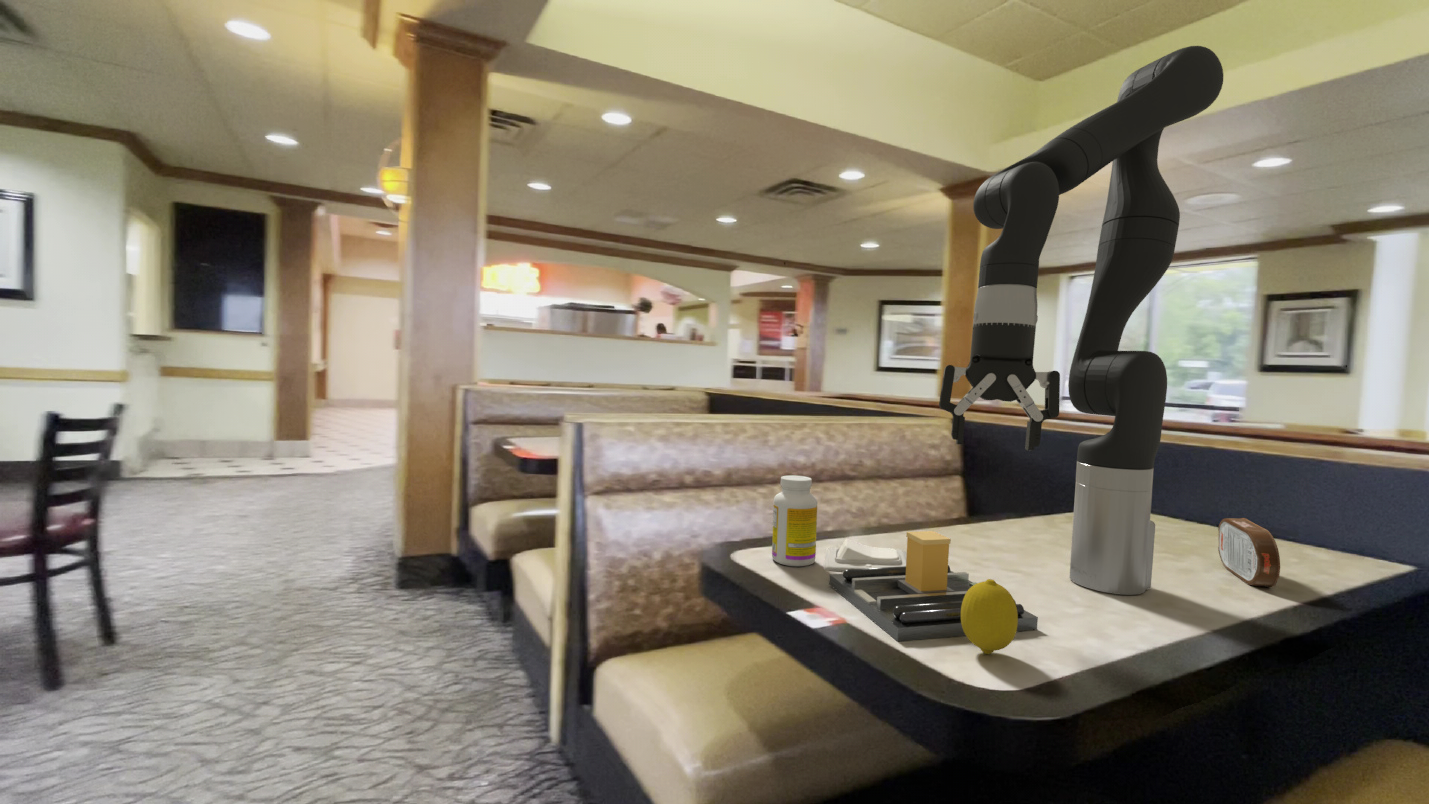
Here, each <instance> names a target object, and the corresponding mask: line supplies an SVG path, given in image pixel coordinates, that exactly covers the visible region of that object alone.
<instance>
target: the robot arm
mask: <svg viewBox="0 0 1429 804" xmlns="http://www.w3.org/2000/svg"><path fill="white" fill-rule="evenodd" d="M1223 84H1224V70H1223V66H1222V63H1221V61H1220V58H1219V57H1218V56H1217V54H1216V53H1215V52H1214V51H1213V50H1211V49H1210V48H1209V47H1206V46H1201V45H1190V46H1186V47H1185V46H1184V47H1182V48H1180V49H1179V48H1178V49H1177V50H1175V51H1172V52H1170V53H1168V54H1165V55H1164V56H1162V57H1160V58H1157V59H1156V60H1154V61H1152V62H1150V63H1148V64H1145V65H1143V67H1140V68H1138V69H1136V70H1134V71H1133V72H1132V73H1131V74H1129V75H1128V76H1127V77H1126V79H1125V80H1124V81H1123V83H1122V85H1121V87H1120V89H1119V92H1118V95H1117V102H1115V103H1112V105H1109V106H1108V107H1105V108H1103V109H1101V110H1099V111H1097V112H1095V113H1093V114H1092V115H1090V116H1088V117H1086V118H1084V119H1083V120H1081V121H1080V122H1079V121H1078V122H1077V123H1075V124H1074V125H1073V126H1070V127H1069V128H1067V129H1066V130H1065V131H1063V132H1062V133H1060V134H1058V135H1056V136H1055V137H1054V138H1052V139H1050V140H1049V141H1048V142H1047V143H1045V144H1044V145H1043V146H1041V147H1040V148H1039V149H1038V150H1036V151H1035V152H1033V153H1032V154H1030V155H1028V156H1025V157H1023V159H1020V160H1018V161H1016V162H1015V163H1013V164H1011V165H1009V166H1007V167H1005V168H1004V169H1002V170H1000V171H998V172H996V173H995V174H992V176H990V177H988V178H987V179H986V180H985V181H984V182H983V183H982V184H981V185H980V186H979V188H978V189H977V190H976V192H975V195H974V198H973V203H972V204H973V207H972V208H973V212H974V216H975V217H976V220H977V221H978V222H979V223H980V224H981V225H983V226H984V227H985V228H989V229H993V230H1001V233H1000V234H999V236H998V237H997V239H995V240H994V241H993V242H991V243H990V244H988V245H987V246H985V248H983V250H982V253H981V256H980V261H979V262H980V264H979V272H978V273H979V274H978V286H977V294H976V299H975V302H974V309H973V322H972V331H971V332H972V333H971V342H970V343H971V345H970V358H969V363H968V365H967V366H966V367H962V366H961V367H960V366H954V365H952V364H948V365H946V366H945V367H944V369H943V374H942V375H943V376H942V382H941V389H940V394H939V395H940V397H939V401H938V407H939V408H940V409H941V410H944V411H946V412H948V413H950V414H951V416H952V422H951V432H950V434H951V439H952V440H955V444H956V445H961V446H962V445H964V433H965V425H966V424H965V421H966V417H965V416H964V413H965V412H966V411H967V410H968V409H969V408H970V407H971V406H972V405H973V404H974V403H975V402H976V401H977V400H978V399H979V398H980V399H982V400H984V401H995V400H996V401H997V400H999V401H1001V402H1008V403H1011V402H1015V401H1016V403H1017V404H1018V405H1019V407H1020V408H1022V410H1023V411H1024V413H1025V414H1026V416H1027V417H1028V418H1029V420H1027V423H1026V432H1025V433H1026V434H1025V442H1024V443H1025V444H1024V446H1025V447H1024V449H1025V451H1033V452H1034V451H1035V447H1039V445H1040V444H1041V438H1042V425H1043V422H1044V421H1046V420H1049V419H1055V418H1058V417H1059V415H1060V401H1061V400H1060V396H1061V394H1060V391H1061V387H1060V386H1061V374H1060V372H1059V371H1057V370H1051V371H1050V370H1049V371H1036V370H1035V368H1034V353H1035V352H1034V351H1035V342H1036V332H1037V323H1038V318H1039V317H1038V294H1037V293H1038V289H1037V288H1038V281H1039V270H1040V268H1039V267H1040V257H1041V255H1042V252H1043V249H1044V247H1045V245H1046V241H1047V239H1048V236H1049V233H1050V230H1051V227H1052V225H1053V221H1054V219H1055V215H1056V214H1057V209H1058V205H1059V202H1060V201H1059V200H1060V195H1064V194H1066V193H1068V192H1070V191H1071V190H1073V189H1075V188H1076V187H1078V186H1080V185H1081V184H1082V183H1084V182H1085V181H1087V180H1088V179H1090V178H1091V177H1092V176H1094V175H1095V174H1097V173H1098V172H1099V171H1101V170H1102V169H1103V168H1105V167H1106V166H1108V165H1109V164H1111V163H1112V164H1111V165H1112V166H1111V171H1110V173H1111V174H1110V178H1109V185H1108V192H1107V193H1108V194H1107V200H1106V205H1105V210H1104V215H1103V221H1102V224H1101V229H1100V233H1099V240H1098V246H1097V253H1096V261H1095V269H1094V272H1093V273H1094V274H1093V278H1092V283H1091V289H1090V292H1089V293H1090V294H1089V299H1088V304H1087V307H1086V312H1085V316H1084V320H1083V323H1082V326H1081V329H1080V333H1079V337H1078V339H1077V343H1076V348H1075V350H1074V354H1073V358H1072V361H1071V365H1070V369H1069V373H1068V374H1069V375H1068V383H1067V384H1068V388H1067V389H1068V397H1069V401H1070V403H1071V404H1072V407H1074V408H1075V410H1077V412H1080V413H1083V414H1087V415H1088V414H1089V415H1098V416H1106V417H1107V416H1108V417H1114V421H1113V425H1112V428H1111V429H1110V430H1109V431H1108V432H1106V433H1105V434H1104V435H1101V436H1099V437H1095V438H1091V439H1087V440H1083V441H1082V442H1080V443H1079V445H1078V446H1077V453H1076V455H1077V456H1076V469H1075V486H1074V487H1075V489H1074V500H1073V501H1074V504H1073V518H1072V533H1071V535H1072V536H1071V550H1070V562H1069V564H1070V565H1069V580H1071V581H1072V582H1074V583H1075V584H1077V585H1078V586H1082V587H1085V588H1087V589H1091V590H1095V591H1099V592H1103V593H1108V594H1115V595H1125V596H1126V595H1132V596H1134V595H1140V594H1141V595H1142V594H1143V593H1145V592H1146V590H1151V589H1152V577H1153V575H1152V574H1153V562H1154V547H1155V536H1156V523H1155V521H1153V520H1151V511H1152V500H1153V482H1154V481H1153V480H1154V468H1155V459H1156V456H1157V452H1158V450H1159V447H1160V443H1161V439H1162V432H1163V431H1162V429H1163V421H1164V413H1165V406H1166V401H1167V392H1168V377H1167V376H1168V375H1167V368H1166V366H1165V362H1164V361H1163V360H1162V358H1161V357H1160V356H1159V355H1158V354H1156V353H1155V352H1152V351H1148V350H1147V351H1146V350H1119V348H1120V343H1121V339H1122V336H1123V333H1124V330H1125V328H1126V325H1127V323H1128V321H1129V319H1130V318H1131V316H1132V315H1133V314H1134V311H1136V309H1137V308H1138V307H1139V305H1140V304H1141V303H1142V302H1143V301H1144V300H1145V298H1147V296H1148V295H1149V293H1151V292H1152V290H1153V289H1154V288H1155V287H1156V286H1157V285H1158V283H1159V282H1160V280H1161V279H1162V278H1163V276H1164V275H1165V273H1166V272H1167V270H1169V267H1170V266H1171V264H1172V261H1173V259H1174V253H1175V249H1176V244H1177V239H1178V233H1179V227H1180V220H1181V219H1180V218H1181V213H1180V208H1179V205H1178V202H1177V200H1176V198H1175V196H1174V194H1173V192H1172V191H1171V189H1170V187H1169V186H1168V184H1167V183H1166V181H1165V180H1164V178H1163V175H1162V174H1161V172H1160V169H1159V164H1158V159H1159V158H1158V156H1159V155H1158V154H1159V147H1160V141H1161V136H1162V134H1163V131H1164V129H1165V128H1167V127H1169V126H1172V125H1175V124H1177V123H1179V122H1183V121H1185V120H1188V119H1190V118H1193V117H1194V116H1197V115H1198V114H1200V113H1203V112H1204V111H1205V110H1207V109H1208V108H1209V107H1211V106H1212V105H1213V104H1214V102H1215V101H1216V100H1217V98H1218V97H1219V95H1220V93H1221V90H1222V89H1223ZM962 376H965V379H966V381H968V382H969V384H970V386H971V387H972V388H970V390H968V392H967V393H965V395H964V396H963V397H962V399H960V400H959V402H957V403H956V404H955V403H953V402H951V399H952V392H953V386H954V383H957V382H959V381H960V378H961V377H962ZM1035 381H1038V383H1039V387H1041V388H1042V389H1044V409H1039V407H1038V406H1037V405H1036V403H1035V401H1034V400H1033V398H1032V396H1031V395H1030V394H1029V393H1028V388H1030V386H1032V384H1033V383H1034V382H1035Z"/></svg>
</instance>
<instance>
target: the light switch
mask: <svg viewBox="0 0 1429 804" xmlns="http://www.w3.org/2000/svg"><path fill="white" fill-rule="evenodd" d="M824 553H825V554H824V564H823V570H824V571H833V572H842V573H843V572H844V570H846V569H863V568H882V567H901V566H906V558H907V550H904V549H901V548H892V547H891V548H889V547H874V546H870V545H866V544H864V543H860V542H859V541H856V540H853V539H850V538H846V539H845V540H844V541H843V543H842V544H841V546H840V547H839V546H838V547H836V546H830V547H827V548H826V549H825V552H824Z"/></svg>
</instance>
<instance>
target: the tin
mask: <svg viewBox="0 0 1429 804" xmlns="http://www.w3.org/2000/svg"><path fill="white" fill-rule="evenodd" d="M1217 529H1218V549H1217V550H1218V554H1219V558H1220V561H1221V563H1222V565H1223V566H1224V568H1225V569H1227V570H1228V571H1229V572H1230V573H1231V574H1233V575H1234V576H1236V578H1239V579H1240V580H1241V581H1242V582H1244V583H1245V584H1247V585H1248V586H1252V587H1254V586H1256V587H1266V588H1273V587H1275V586H1276V585H1277V583H1278V581H1279V578H1280V573H1281V558H1280V552H1279V548H1278V544H1277V542H1276V539H1275V538H1274V536H1273V534H1272V533H1271V532H1270V531H1269V530H1268V529H1267V528H1264V527H1262V526H1260V525H1259V524H1256V523H1254V522H1253V521H1251V520H1249V519H1248V518H1246V517H1241V518H1237V517H1236V518H1235V517H1233V518H1232V517H1229V518H1228V517H1227V518H1222V519H1221V521H1220V522H1219V524H1218V528H1217Z"/></svg>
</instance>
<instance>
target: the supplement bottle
mask: <svg viewBox="0 0 1429 804" xmlns="http://www.w3.org/2000/svg"><path fill="white" fill-rule="evenodd" d="M812 481H813V479H812V478H811V477H809V476H804V475H792V474H791V475H782V476H780V483H779V484H780V488H781V491H780V492H779V493H777V494H776V495H774V498H773V510H772V511H773V513H772V514H773V515H772V517H773V518H772V519H773V520H772V545H771V557H772V559H773V561H774V562H776V563H777V564H780V565H783V566H789V567H806V566H809V565H812V564H814V563H815V561H816V555H817V553H816V551H817V525H818V524H817V523H818V522H817V521H818V499H817V498H816V496H814V495H813V493H811V489H812V486H813V485H812V483H813V482H812Z"/></svg>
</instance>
